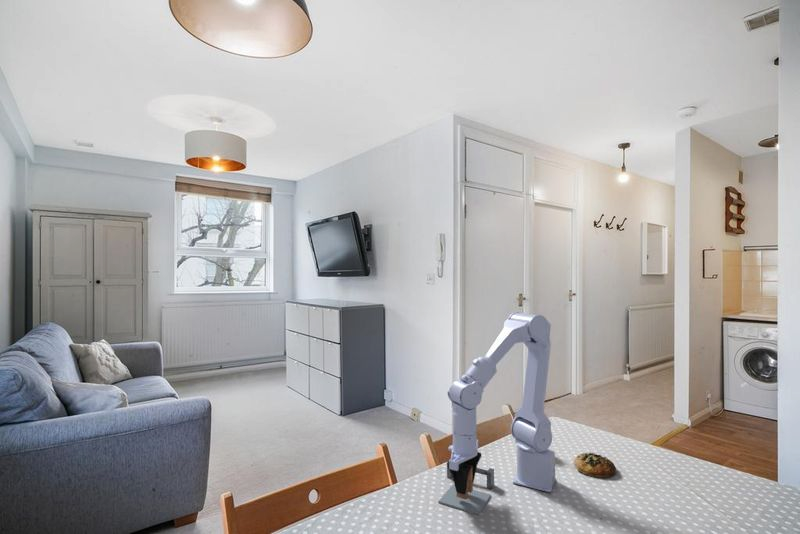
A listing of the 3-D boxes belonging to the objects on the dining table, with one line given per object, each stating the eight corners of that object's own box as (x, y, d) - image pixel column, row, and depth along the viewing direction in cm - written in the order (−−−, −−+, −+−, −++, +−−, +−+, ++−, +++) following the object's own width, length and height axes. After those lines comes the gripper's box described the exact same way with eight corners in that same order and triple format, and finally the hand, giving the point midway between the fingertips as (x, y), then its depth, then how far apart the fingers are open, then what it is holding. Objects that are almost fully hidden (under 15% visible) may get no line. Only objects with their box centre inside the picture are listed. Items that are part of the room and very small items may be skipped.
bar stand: (494, 484, 105) (494, 469, 106) (491, 489, 103) (491, 473, 103) (450, 473, 112) (450, 458, 112) (447, 477, 109) (446, 462, 110)
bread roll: (626, 475, 110) (623, 457, 110) (591, 486, 107) (588, 467, 107) (597, 459, 121) (594, 442, 121) (565, 468, 118) (562, 451, 118)
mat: (490, 496, 100) (490, 494, 100) (478, 515, 92) (478, 513, 92) (453, 485, 105) (453, 484, 105) (438, 502, 97) (438, 501, 97)
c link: (472, 490, 100) (472, 465, 100) (466, 499, 96) (465, 473, 96) (463, 488, 101) (463, 463, 101) (456, 496, 97) (456, 471, 97)
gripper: (460, 419, 107) (460, 471, 107) (436, 438, 95) (437, 497, 94) (486, 424, 104) (486, 477, 103) (465, 444, 91) (466, 506, 91)
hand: (464, 487), depth 99 cm, fingers closed on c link, 4 cm apart
